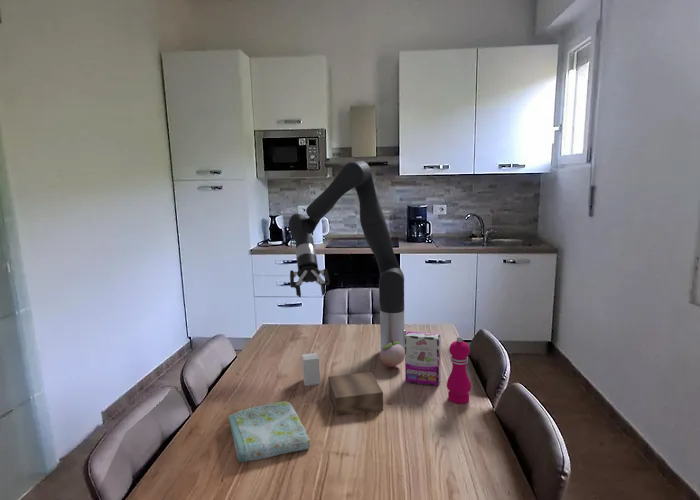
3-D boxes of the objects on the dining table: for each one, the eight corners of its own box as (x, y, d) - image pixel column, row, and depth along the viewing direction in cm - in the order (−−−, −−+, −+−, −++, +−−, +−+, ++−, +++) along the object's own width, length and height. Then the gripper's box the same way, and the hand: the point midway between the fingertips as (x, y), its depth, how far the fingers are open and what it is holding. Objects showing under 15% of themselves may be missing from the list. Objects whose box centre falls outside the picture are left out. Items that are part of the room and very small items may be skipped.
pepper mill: (468, 393, 141) (470, 332, 137) (472, 405, 134) (474, 341, 130) (445, 392, 141) (446, 332, 138) (448, 404, 134) (448, 340, 131)
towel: (291, 411, 133) (290, 395, 132) (311, 452, 114) (310, 433, 113) (228, 425, 127) (227, 408, 126) (238, 470, 107) (236, 451, 106)
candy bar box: (440, 380, 150) (441, 333, 148) (438, 386, 146) (439, 338, 143) (407, 376, 154) (407, 330, 151) (404, 382, 149) (404, 335, 146)
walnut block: (371, 389, 146) (371, 372, 145) (383, 411, 132) (382, 392, 131) (328, 394, 143) (328, 376, 142) (336, 417, 129) (335, 397, 128)
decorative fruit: (396, 375, 155) (396, 347, 153) (376, 369, 160) (376, 342, 158) (409, 365, 162) (409, 339, 160) (390, 360, 167) (390, 334, 165)
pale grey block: (317, 377, 154) (316, 352, 153) (319, 384, 150) (319, 358, 148) (303, 379, 153) (302, 354, 152) (305, 385, 148) (303, 360, 147)
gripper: (288, 253, 166) (292, 291, 156) (326, 251, 169) (332, 288, 160) (287, 264, 172) (291, 302, 162) (324, 262, 175) (330, 299, 166)
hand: (311, 295), depth 161 cm, fingers open, 8 cm apart
